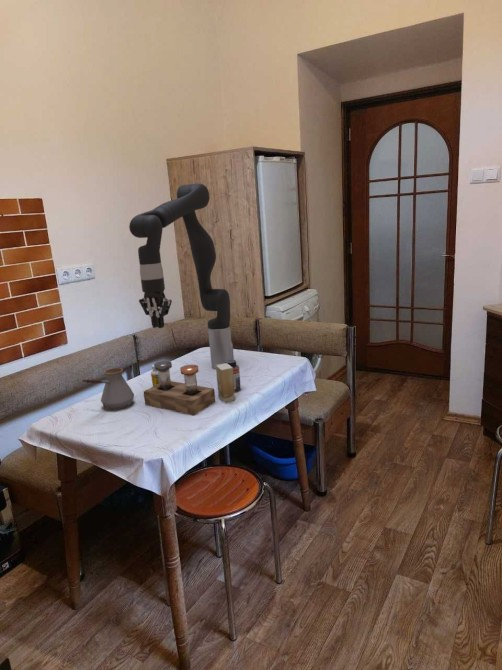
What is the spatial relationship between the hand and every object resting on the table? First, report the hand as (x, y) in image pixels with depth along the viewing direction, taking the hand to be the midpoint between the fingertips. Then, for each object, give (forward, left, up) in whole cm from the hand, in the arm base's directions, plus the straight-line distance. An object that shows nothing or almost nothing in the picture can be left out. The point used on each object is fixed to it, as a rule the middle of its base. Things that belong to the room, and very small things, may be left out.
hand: (158, 327), depth 163 cm
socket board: (0, +6, -27) cm, 28 cm away
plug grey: (0, 0, -23) cm, 23 cm away
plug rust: (0, +12, -23) cm, 26 cm away
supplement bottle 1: (-8, -11, -27) cm, 30 cm away
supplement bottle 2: (-18, +16, -27) cm, 36 cm away
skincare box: (-10, +19, -27) cm, 35 cm away
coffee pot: (+15, -13, -27) cm, 34 cm away
